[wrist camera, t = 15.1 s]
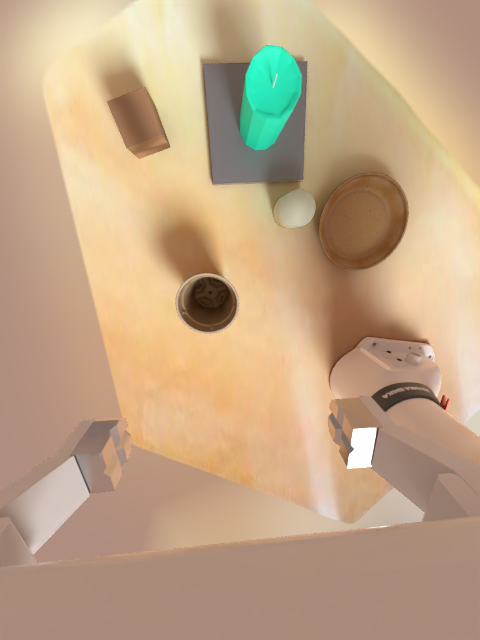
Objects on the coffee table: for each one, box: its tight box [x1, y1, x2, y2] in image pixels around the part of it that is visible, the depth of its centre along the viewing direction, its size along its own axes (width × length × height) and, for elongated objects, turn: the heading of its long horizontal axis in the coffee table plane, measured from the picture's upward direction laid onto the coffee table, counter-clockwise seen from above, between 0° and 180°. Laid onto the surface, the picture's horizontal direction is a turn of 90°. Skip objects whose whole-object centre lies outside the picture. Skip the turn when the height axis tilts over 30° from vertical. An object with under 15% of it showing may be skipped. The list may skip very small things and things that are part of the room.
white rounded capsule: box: [273, 189, 316, 228], centre depth 37 cm, size 5×5×6 cm
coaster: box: [203, 61, 307, 185], centre depth 35 cm, size 14×14×1 cm
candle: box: [240, 45, 302, 150], centre depth 29 cm, size 6×6×12 cm
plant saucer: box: [319, 173, 409, 270], centre depth 40 cm, size 15×15×3 cm
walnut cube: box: [107, 87, 170, 159], centre depth 32 cm, size 5×5×5 cm
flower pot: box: [176, 273, 239, 334], centre depth 39 cm, size 9×9×9 cm
